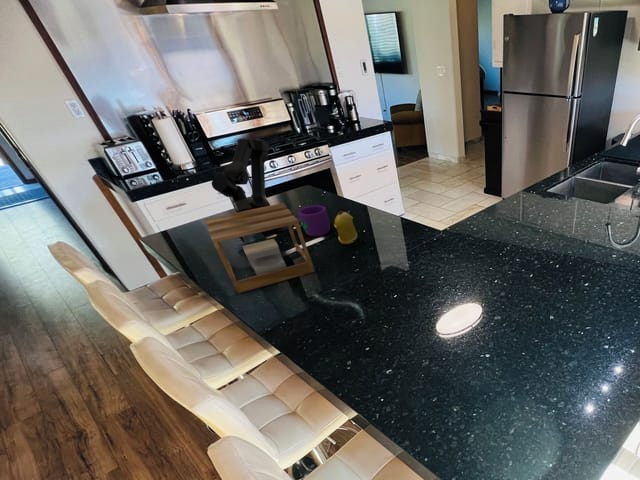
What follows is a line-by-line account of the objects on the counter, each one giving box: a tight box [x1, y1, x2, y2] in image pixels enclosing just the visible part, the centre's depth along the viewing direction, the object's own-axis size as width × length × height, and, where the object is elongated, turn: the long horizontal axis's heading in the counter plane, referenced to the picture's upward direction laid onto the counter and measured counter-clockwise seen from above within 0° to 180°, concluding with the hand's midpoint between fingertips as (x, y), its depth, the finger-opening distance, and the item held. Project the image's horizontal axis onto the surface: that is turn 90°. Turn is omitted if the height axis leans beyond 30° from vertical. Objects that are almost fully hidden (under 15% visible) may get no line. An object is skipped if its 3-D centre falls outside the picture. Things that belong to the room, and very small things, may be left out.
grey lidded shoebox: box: [241, 238, 288, 276], centre depth 147 cm, size 11×16×8 cm
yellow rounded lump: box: [333, 210, 359, 245], centre depth 161 cm, size 12×8×15 cm
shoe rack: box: [204, 202, 316, 294], centre depth 143 cm, size 22×26×19 cm
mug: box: [297, 204, 331, 237], centre depth 173 cm, size 17×11×10 cm, turn 44°
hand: (256, 238), depth 153 cm, fingers open, 9 cm apart
